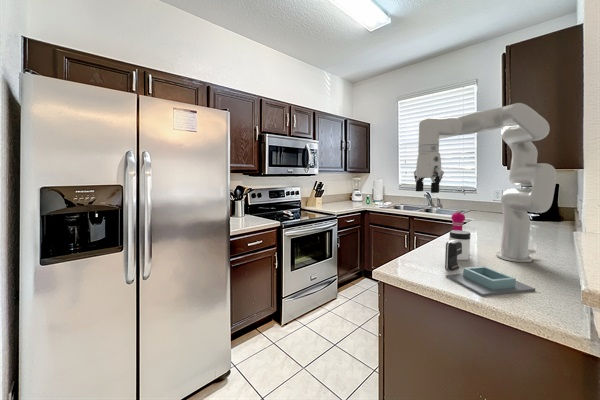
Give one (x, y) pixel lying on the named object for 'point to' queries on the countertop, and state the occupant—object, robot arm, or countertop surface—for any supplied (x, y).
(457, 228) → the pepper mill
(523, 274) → the countertop surface
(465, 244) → the jar
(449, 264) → the black hard case
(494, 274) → the charging dock
